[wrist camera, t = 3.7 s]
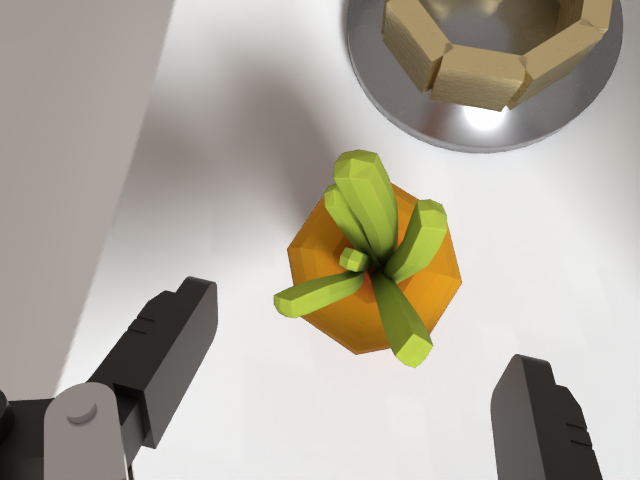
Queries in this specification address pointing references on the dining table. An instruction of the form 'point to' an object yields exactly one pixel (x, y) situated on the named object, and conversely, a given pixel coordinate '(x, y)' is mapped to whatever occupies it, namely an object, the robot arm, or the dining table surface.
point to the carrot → (372, 264)
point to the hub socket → (483, 66)
